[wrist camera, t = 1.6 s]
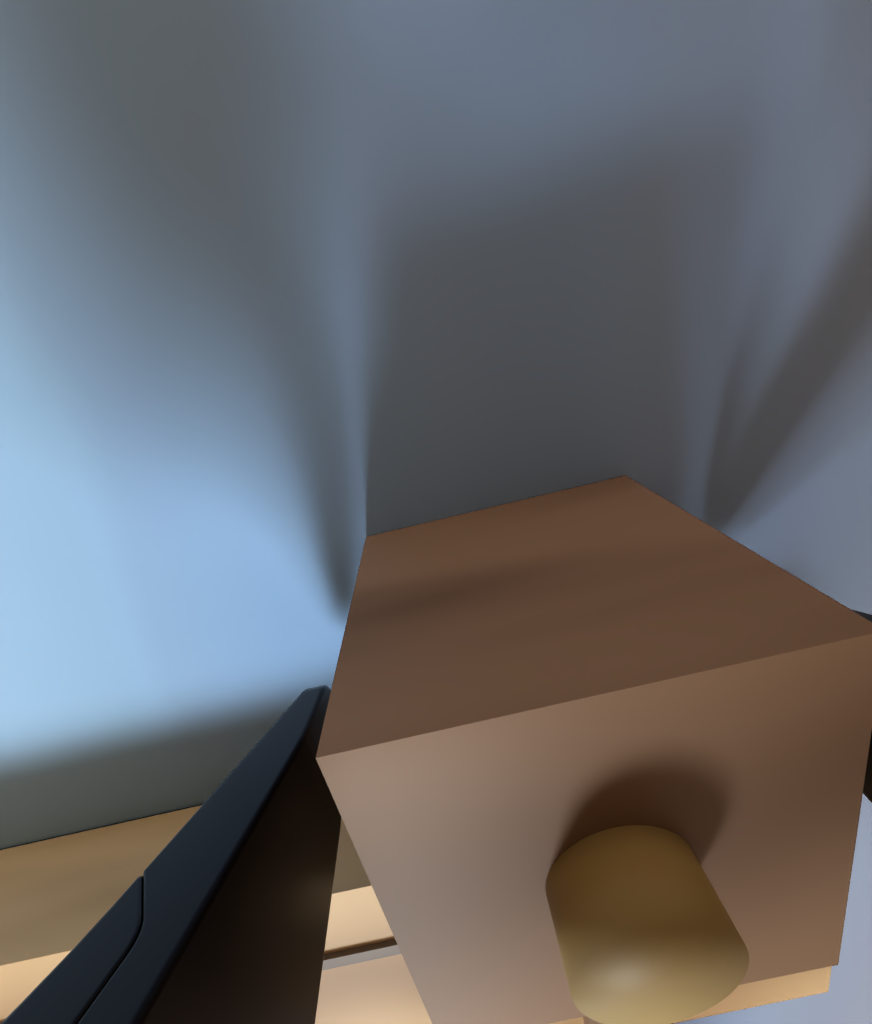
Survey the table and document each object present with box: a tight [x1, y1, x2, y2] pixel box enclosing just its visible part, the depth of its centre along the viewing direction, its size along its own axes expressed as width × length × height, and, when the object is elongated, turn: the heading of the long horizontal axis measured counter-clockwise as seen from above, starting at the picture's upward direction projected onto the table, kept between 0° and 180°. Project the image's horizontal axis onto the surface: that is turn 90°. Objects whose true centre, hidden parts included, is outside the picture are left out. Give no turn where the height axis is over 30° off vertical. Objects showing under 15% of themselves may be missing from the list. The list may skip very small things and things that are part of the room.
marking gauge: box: [316, 475, 872, 1024], centre depth 8 cm, size 10×5×6 cm, turn 13°
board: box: [0, 805, 831, 1024], centre depth 11 cm, size 7×24×3 cm, turn 103°
